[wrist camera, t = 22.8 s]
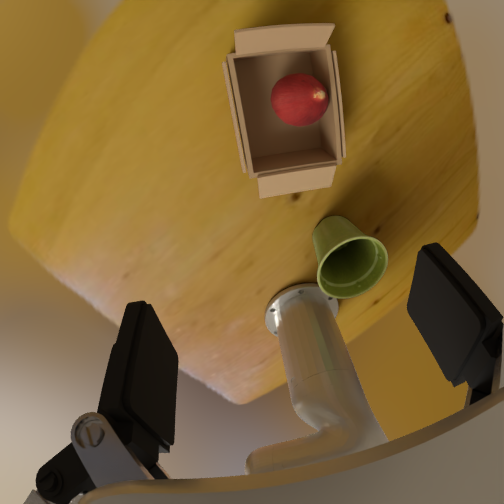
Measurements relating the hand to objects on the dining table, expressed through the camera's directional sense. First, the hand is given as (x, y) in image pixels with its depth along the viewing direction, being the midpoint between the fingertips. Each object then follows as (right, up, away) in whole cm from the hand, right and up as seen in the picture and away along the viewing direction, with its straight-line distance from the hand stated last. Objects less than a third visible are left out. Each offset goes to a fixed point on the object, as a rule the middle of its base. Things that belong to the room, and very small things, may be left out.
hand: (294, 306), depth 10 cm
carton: (+2, +19, +22) cm, 29 cm away
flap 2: (+3, +9, +22) cm, 24 cm away
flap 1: (+1, +20, +11) cm, 23 cm away
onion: (+2, +18, +21) cm, 28 cm away
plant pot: (+10, +4, +33) cm, 34 cm away
